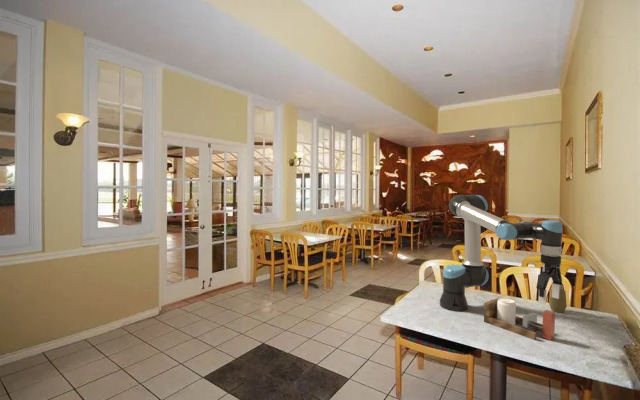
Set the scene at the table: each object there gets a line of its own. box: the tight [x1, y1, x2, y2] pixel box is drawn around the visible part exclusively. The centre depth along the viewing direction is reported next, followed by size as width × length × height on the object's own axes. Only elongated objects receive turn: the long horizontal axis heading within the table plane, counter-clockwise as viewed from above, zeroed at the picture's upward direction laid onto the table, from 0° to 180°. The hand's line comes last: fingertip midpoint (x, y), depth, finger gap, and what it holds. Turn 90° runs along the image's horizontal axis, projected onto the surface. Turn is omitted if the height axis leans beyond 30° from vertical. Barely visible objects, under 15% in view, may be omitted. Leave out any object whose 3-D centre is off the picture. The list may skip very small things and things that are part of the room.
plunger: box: [522, 309, 556, 341], centre depth 149 cm, size 10×10×12 cm
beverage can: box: [497, 297, 517, 326], centre depth 162 cm, size 8×8×12 cm
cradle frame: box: [483, 297, 543, 341], centre depth 158 cm, size 24×14×10 cm, turn 33°
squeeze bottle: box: [548, 284, 568, 313], centre depth 179 cm, size 8×8×18 cm
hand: (548, 300), depth 146 cm, fingers open, 13 cm apart
